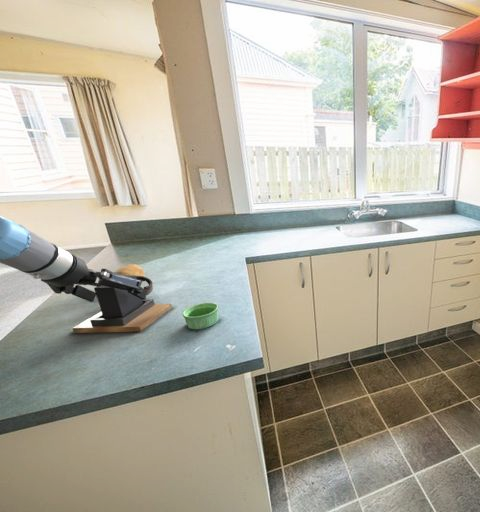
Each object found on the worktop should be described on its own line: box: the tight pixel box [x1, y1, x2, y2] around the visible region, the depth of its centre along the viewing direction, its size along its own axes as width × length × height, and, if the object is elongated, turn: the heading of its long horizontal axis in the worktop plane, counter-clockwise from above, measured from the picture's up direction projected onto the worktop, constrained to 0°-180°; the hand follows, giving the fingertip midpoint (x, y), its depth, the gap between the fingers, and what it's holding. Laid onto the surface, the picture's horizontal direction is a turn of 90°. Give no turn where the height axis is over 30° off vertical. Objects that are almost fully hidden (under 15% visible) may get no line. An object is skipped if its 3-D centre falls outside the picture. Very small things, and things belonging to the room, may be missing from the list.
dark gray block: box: [93, 275, 143, 318], centre depth 87 cm, size 5×9×11 cm, turn 7°
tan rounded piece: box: [113, 263, 146, 277], centre depth 111 cm, size 10×14×8 cm
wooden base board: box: [71, 298, 173, 334], centre depth 89 cm, size 18×14×4 cm
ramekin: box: [182, 302, 220, 330], centre depth 87 cm, size 9×9×4 cm
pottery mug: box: [136, 276, 154, 296], centre depth 102 cm, size 12×10×8 cm
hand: (119, 296), depth 87 cm, fingers open, 13 cm apart
